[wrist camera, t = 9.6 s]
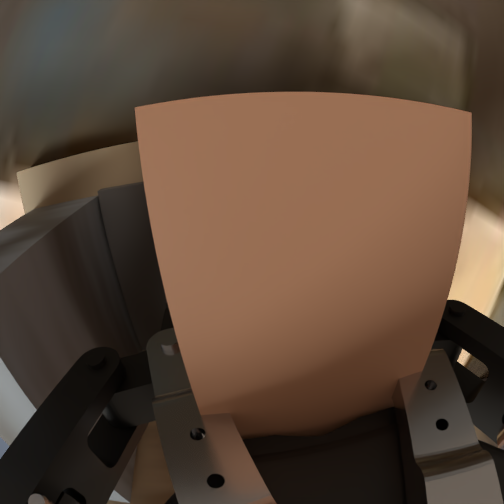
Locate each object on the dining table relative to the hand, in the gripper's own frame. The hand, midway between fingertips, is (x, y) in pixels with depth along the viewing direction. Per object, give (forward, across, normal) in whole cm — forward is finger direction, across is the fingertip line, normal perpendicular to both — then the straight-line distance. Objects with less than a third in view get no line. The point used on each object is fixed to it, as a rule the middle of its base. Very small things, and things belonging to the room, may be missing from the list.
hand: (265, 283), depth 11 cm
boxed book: (+3, 0, 0) cm, 3 cm away
